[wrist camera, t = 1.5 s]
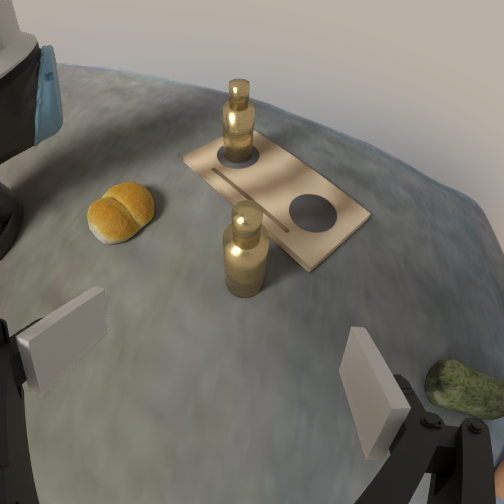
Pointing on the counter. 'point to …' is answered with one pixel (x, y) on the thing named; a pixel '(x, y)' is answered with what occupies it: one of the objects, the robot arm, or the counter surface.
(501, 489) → the egg
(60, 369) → the robot arm
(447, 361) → the vegetable
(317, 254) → the board
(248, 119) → the gold bottle
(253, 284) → the brass bottle
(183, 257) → the counter surface
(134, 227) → the bread roll
